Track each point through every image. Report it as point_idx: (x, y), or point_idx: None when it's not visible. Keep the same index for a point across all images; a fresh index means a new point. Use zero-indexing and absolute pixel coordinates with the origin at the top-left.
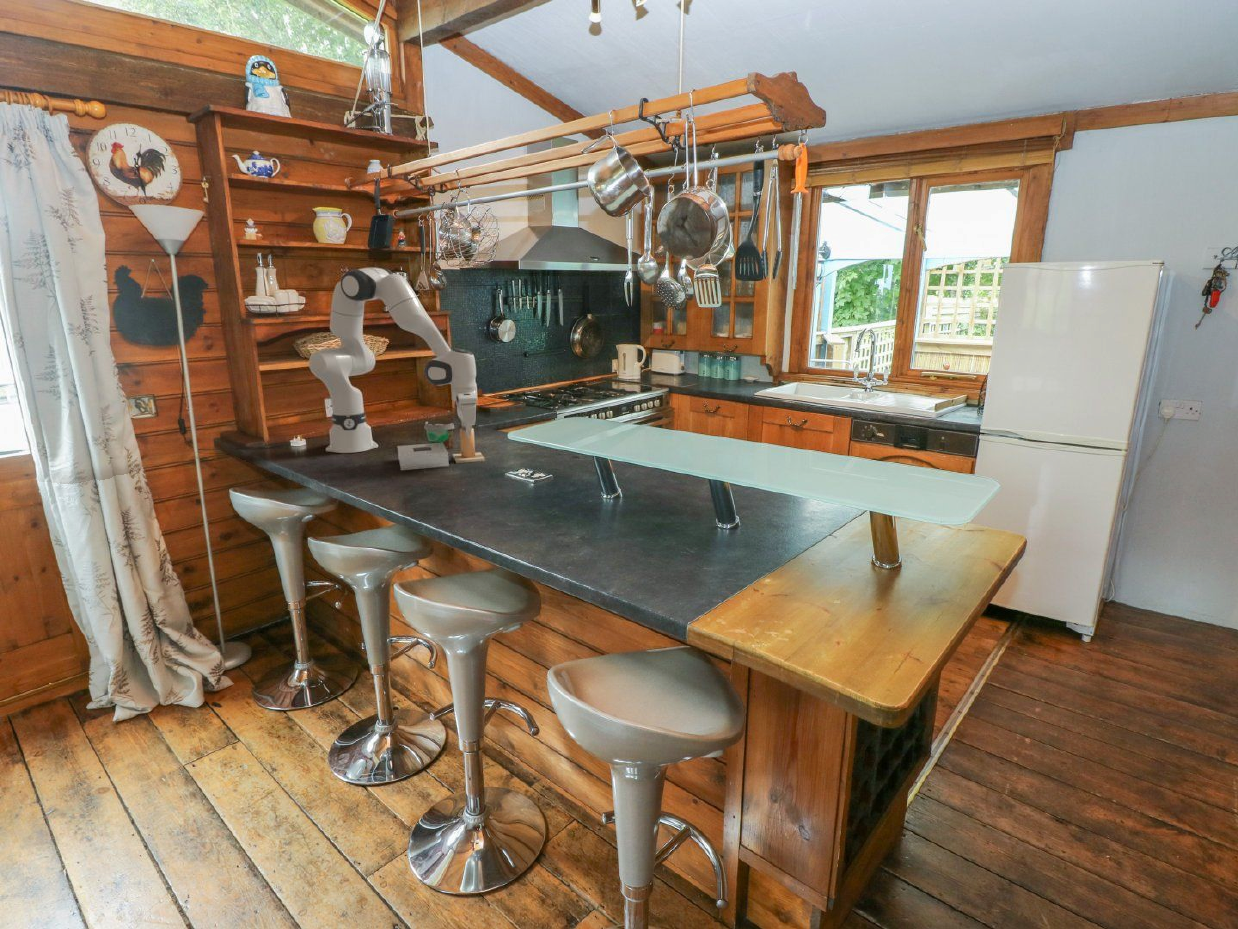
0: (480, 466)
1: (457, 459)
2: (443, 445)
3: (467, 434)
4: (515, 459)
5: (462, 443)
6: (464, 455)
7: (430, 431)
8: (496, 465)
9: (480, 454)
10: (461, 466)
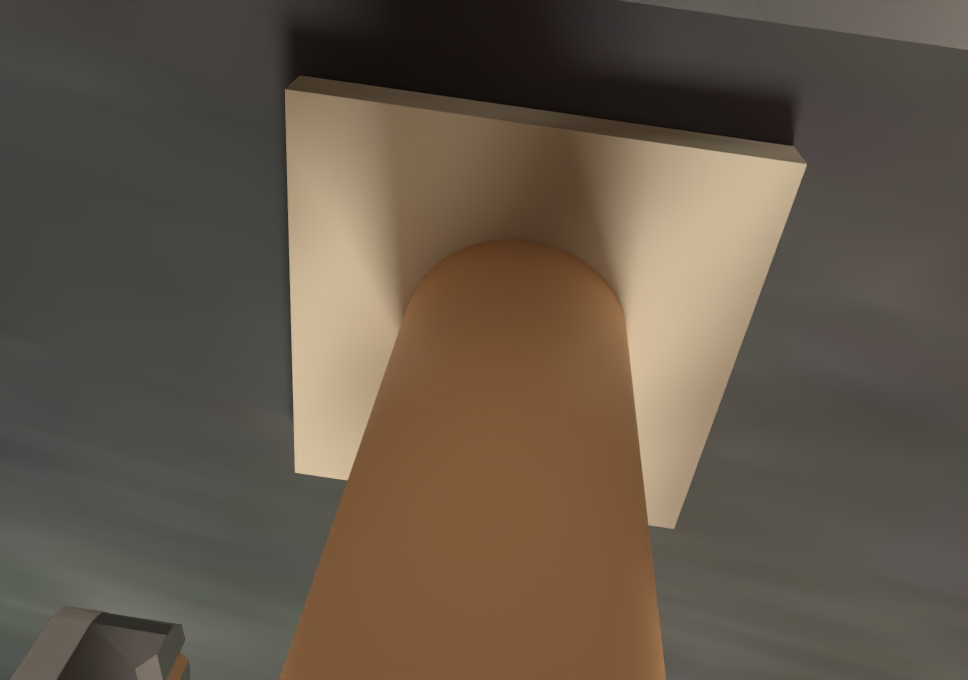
0: (27, 326)
1: (360, 130)
2: (834, 2)
3: (41, 653)
4: (260, 669)
5: (412, 406)
6: (427, 285)
7: None
8: (46, 478)
9: None
10: (73, 94)
